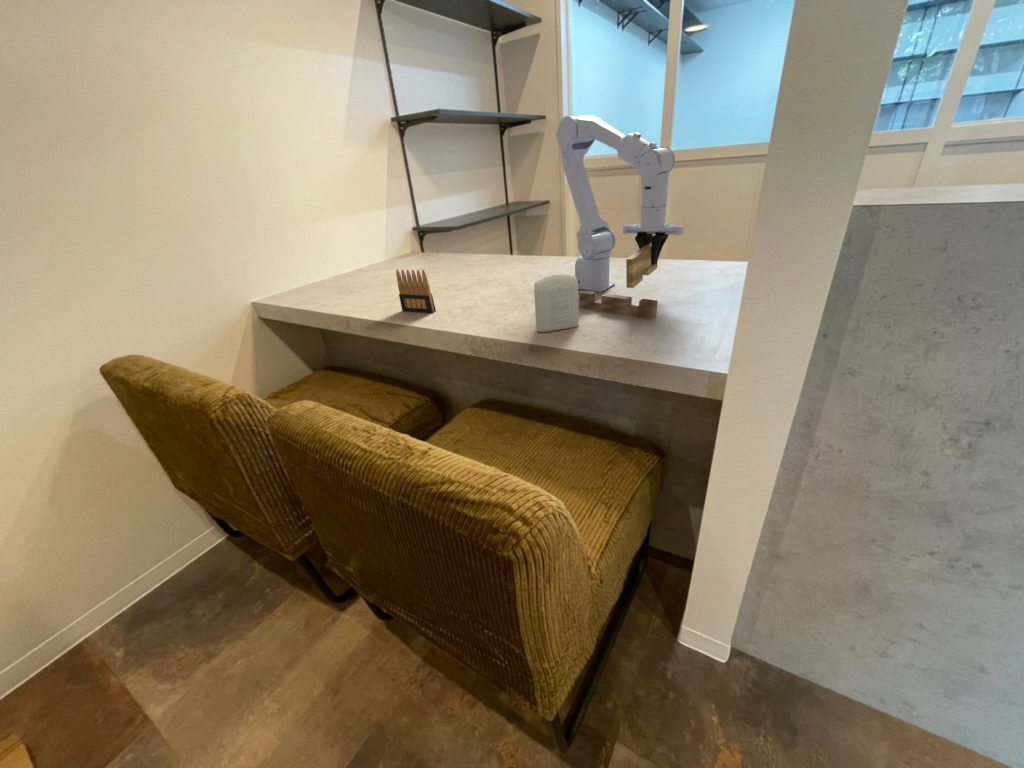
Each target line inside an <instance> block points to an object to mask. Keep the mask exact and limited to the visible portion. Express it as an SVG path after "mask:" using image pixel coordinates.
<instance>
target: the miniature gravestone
mask: <svg viewBox="0 0 1024 768" xmlns="http://www.w3.org/2000/svg"><path fill="white" fill-rule="evenodd" d="M533 288H534V289H533V291H534V293H533V294H534V295H533V296H534V310H535V312H534V313H535V323H536V324H535V329H536V331H537V332H538V333H545V332H546V333H547V332H552V331H559V330H564V329H570V328H575V327H578V326H579V320H580V319H579V289H578V281H577V278H576V277H575V275H571V274H553V275H549V276H546V277H543V278H540V279H539V280H537V281H535V282H534V287H533Z"/></svg>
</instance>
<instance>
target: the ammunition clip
mask: <svg viewBox="0 0 1024 768" xmlns="http://www.w3.org/2000/svg"><path fill="white" fill-rule="evenodd" d="M421 270H422V271H421V272H420V270H419V269H417V270H416V272H415V270H414V269H411V273H410V271H409V269H406V271H404V269H401V271H399V269H396V270H395V271H396V273H395V274H396V281H397V288H398V293H399V294H398V297H399V302H400V306H401V311H402V312H407V313H419V312H420V313H421V314H422V313H423V314H433V313H435V312H436V311H437V310H436V306H435V301H434V297H433V294H432V292H431V287H430V284H429V280H428V277H427V274H426V272H425V270H424V269H421ZM405 272H406V273H405Z"/></svg>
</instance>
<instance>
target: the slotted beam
mask: <svg viewBox="0 0 1024 768" xmlns="http://www.w3.org/2000/svg"><path fill="white" fill-rule="evenodd" d="M596 292H597V291H591V290H584V289H582V290H581V291H580V292H579V291H578V308H582V309H585V310H586V309H587V310H592V311H599V312H605V313H611V314H617V315H622V316H629V317H634V318H640V319H645V320H651V321H653V320H654V319H656V318H657V315H658V314H657V313H658V302H659V301H658V300H657V299H656V300H655V299H649V298H642V299H640V300H638V305H633V304H632V303H633V296H626V295H620V294H614V293H603V294H602V295H600V299H596Z"/></svg>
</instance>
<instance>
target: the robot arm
mask: <svg viewBox="0 0 1024 768" xmlns="http://www.w3.org/2000/svg"><path fill="white" fill-rule="evenodd" d="M556 129H557V130H556V133H555V136H556V137H555V138H556V140H557V144H558V147H559V150H560V162H561V164H562V165H561V166H562V169H563V172H564V175H565V178H566V181H567V182H566V183H567V185H568V187H569V191H570V194H571V196H572V197H571V198H572V201H573V203H574V207H575V210H576V214H577V216H578V219H579V223H580V227H579V228H578V230H577V231H576V238H577V249H578V252H579V256H578V257H577V259H576V261H575V264H574V276H575V277H576V278H577V281H578V290H585V291H592V292H599V293H601V292H602V293H603V292H604V291H606V290H607V289H609V288H611V287H613V286H615V285H616V283H615V282H610V263H611V262H610V258H611V257H610V256H611V255H612V250H613V249H614V248H615V246H616V242H617V241H616V240H617V239H616V235H615V234H614V232H613V230H612V229H611V227H610V225H609V222H608V221H606V220H605V219H603V218H602V217H601V216H600V212H599V209H598V205H597V202H596V198H595V196H594V195H595V194H594V192H593V189H592V185H591V183H590V179H589V176H588V173H587V170H586V166H585V163H584V158H585V155H587V154H588V152H589V150H590V149H591V147H592V146H593V144H594V142H596V141H598V142H600V143H602V144H604V145H606V146H608V147H610V148H612V149H614V150H616V152H617V156H618V158H619V159H620V160H622V161H623V162H624V163H627V164H628V165H631V166H632V167H633V168H636V169H637V171H638V174H639V176H640V179H641V180H640V183H641V203H640V206H641V207H640V223H632V224H624V225H623V226H622V234H624V235H625V234H636V235H635V236H634V241H635V242H636V244H637V246H638V248H639V249H641V248H642V247H644V246H645V245H647V244H648V243H649V242H651V244H652V257H651V265H655V264H657V265H658V261H659V257H660V254H661V251H662V249H663V247H664V245H665V243H666V241H667V240H668V238H669V235H675V236H681V235H683V234H684V230H685V229H684V227H685V226H684V224H670V223H666V215H667V212H666V211H667V201H668V187H669V174H670V172H672V170H673V168H674V167H675V163H676V158H675V154H674V152H673V151H672V149H671V148H670V147H669V146H661V147H658V146H657V143H656V142H655V141H651V142H650V141H648V140H646V139H645V138H643V137H642V133H640V132H638V131H637V132H633V133H632V132H630V133H628V134H626V135H625V134H623V133H622V132H621V131H619V130H617V129H616V128H614V127H613V126H611V125H609V124H608V123H607V122H605V121H603V120H602V118H601V117H598V116H596V115H594V114H586V115H576V116H575V115H572V116H571V115H566V116H563V117H562V118H561V119H560V121H559V123H558V127H557V128H556ZM639 249H638V250H639Z"/></svg>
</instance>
